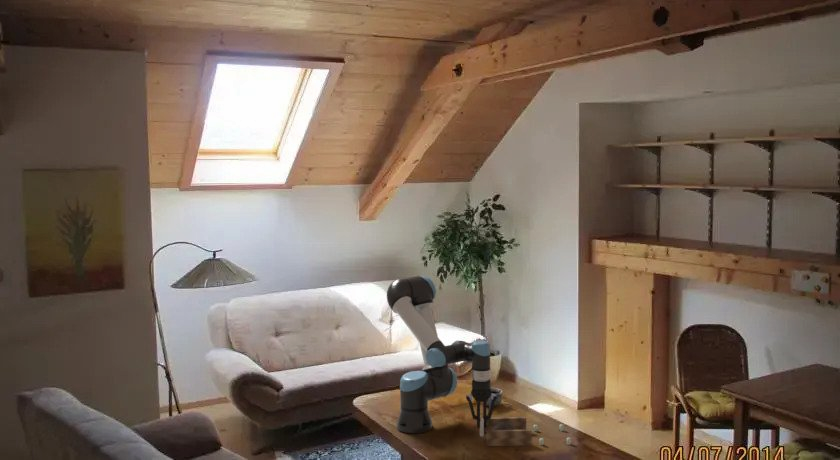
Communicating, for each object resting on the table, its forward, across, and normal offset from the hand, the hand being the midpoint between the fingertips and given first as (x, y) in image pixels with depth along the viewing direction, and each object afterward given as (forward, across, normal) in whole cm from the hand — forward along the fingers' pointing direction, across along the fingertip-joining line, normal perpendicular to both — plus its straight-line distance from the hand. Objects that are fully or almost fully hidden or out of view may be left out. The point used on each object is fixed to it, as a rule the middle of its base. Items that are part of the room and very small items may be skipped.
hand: (481, 435), depth 309 cm
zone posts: (+2, +29, 0) cm, 29 cm away
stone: (+2, +8, 0) cm, 9 cm away
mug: (+2, +7, +40) cm, 40 cm away
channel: (+2, +10, 0) cm, 10 cm away
